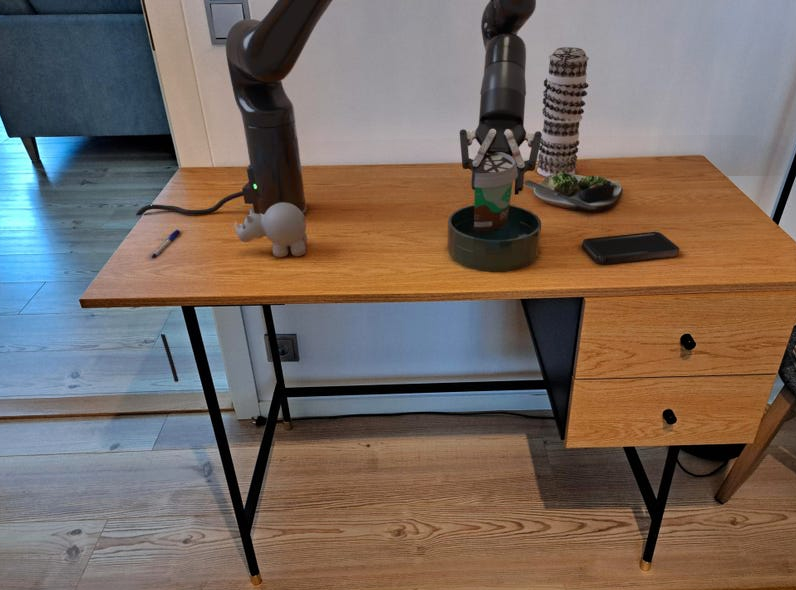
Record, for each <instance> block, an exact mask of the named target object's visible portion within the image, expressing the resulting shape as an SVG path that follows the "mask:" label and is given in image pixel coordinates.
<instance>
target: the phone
mask: <svg viewBox="0 0 796 590" xmlns="http://www.w3.org/2000/svg"><path fill="white" fill-rule="evenodd" d="M581 248H582V249H583V250H584V251H585V253H586V254H588V255H589V256H590V258H591V259H592V260H593V261H594V262H595V263H597V264H599V265H609V264H619V263H628V262H629V263H630V262H638V261H645V260H654V259H655V260H657V259H665V258H673V257H677V256H678V255H679V251H680V247H679V246H678V245H677V244H675V243H674V242H673V241H672V240H671V239H669V238H668V237H667V236H666V235H664V234H663V233H662V232H659V231H648V232H647V231H646V232H639V233H638V232H637V233H629V234H619V235H618V234H617V235H608V236H600V237H591V238H584V239H582V244H581Z"/></svg>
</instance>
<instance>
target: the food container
mask: <svg viewBox="0 0 796 590" xmlns="http://www.w3.org/2000/svg"><path fill="white" fill-rule="evenodd" d="M517 176H518V172H517V165H516V163H515V160H514V159H513V157H511V156H510V155H508V154H505V153H502V152H496V153H494V154H489V153H487V156H485V158H484V160H483V162H482V164H481V166H480V170H479V172H478V173H475V183H474V187H475V190H474V202H473V203H474V204H473V205H474V231H490V230H494V229H498V228H500V227H503V226H504V225H505V224H506V223H507V219H508V212H509V205H511V197H512V190H513V183H514V182H515V179H516V178H517Z"/></svg>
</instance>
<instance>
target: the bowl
mask: <svg viewBox="0 0 796 590" xmlns="http://www.w3.org/2000/svg"><path fill="white" fill-rule="evenodd" d="M541 232H542V220H541V218H540V217H539V216H538V214H535V213H534V212H532V211H531V210H529V209H526V208H524V207H521V206H517V205H512V204H510V205H509V212H508V219H507V223H506V224H505V225H504V226H503V227H500V228H498V229H494V230H490V231H474V204H472V205H467V206H464V207H461V208H458V209H457V210H455V211H453V212H452V213H451V214H450V215H449V216H448V219H447V250H448V254H449V257H451V259H452V260H453V261H455V262H456V263H457V264H459V265H461V266H464V267H467V268H470V269H472V270H477V271H484V272H497V273H498V272H509V271H515V270H519V269H522V268H525V267H527V266H528V265H529V266H530V264H532V263H533V262H534V261H535V260H536V258H537V257H538V253H539V250H540V243H541Z"/></svg>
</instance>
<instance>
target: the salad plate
mask: <svg viewBox="0 0 796 590" xmlns="http://www.w3.org/2000/svg"><path fill="white" fill-rule="evenodd" d="M524 186H526V187H528V188H530V189H531V190H532V191H533V195H534V196H535V197H537V198H538V199H539V200H541V201H542V202H543V203H546V204H548V205H550V206H554V207H559V208H564V209H568V210H573V211H576V212H584V213H601V212H602V213H603V212H606V211H608V210H610V209H612V207H614V206H615V205H616V204H617V202H618V200H619V199H620V197H621V195H622V193H623V190H624V189H623V186H622V184H621V183H619V182H618V181H616V180H613V179H609V178H605V177H603V176H602V177H601V176H599V175H596V176H594V175H589V176H586V175H580V174H576V173H575V174H568V173H563V172H561V173H558V174H552V175H549V176H547V177H546V176H545V177H544V178H543V179H542V180H541V182H540V183H537V182H535V181H532V180H530V179H528V180H524Z"/></svg>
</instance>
